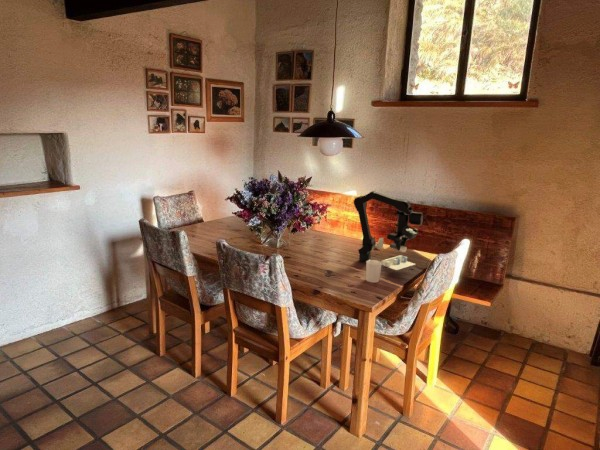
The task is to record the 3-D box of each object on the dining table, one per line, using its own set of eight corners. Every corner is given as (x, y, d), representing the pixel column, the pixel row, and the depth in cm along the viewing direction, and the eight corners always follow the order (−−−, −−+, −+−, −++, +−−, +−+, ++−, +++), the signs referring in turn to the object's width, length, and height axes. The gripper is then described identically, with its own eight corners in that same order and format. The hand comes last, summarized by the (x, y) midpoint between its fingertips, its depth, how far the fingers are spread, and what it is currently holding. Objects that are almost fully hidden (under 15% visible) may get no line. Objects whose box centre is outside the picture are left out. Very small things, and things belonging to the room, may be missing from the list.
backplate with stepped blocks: (396, 271, 236) (397, 265, 235) (381, 266, 245) (381, 259, 244) (415, 265, 248) (416, 259, 247) (400, 260, 256) (401, 254, 255)
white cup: (378, 277, 227) (379, 259, 224) (381, 283, 219) (383, 264, 217) (363, 277, 226) (365, 259, 224) (366, 283, 219) (367, 264, 216)
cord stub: (403, 252, 236) (403, 247, 235) (389, 248, 243) (389, 243, 242) (406, 251, 237) (406, 246, 237) (392, 247, 244) (393, 242, 244)
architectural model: (374, 249, 279) (375, 238, 277) (378, 247, 284) (379, 236, 282) (379, 250, 277) (379, 239, 275) (383, 248, 282) (384, 237, 280)
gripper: (404, 228, 223) (401, 256, 227) (425, 223, 235) (422, 250, 238) (387, 223, 231) (385, 251, 235) (408, 219, 243) (406, 245, 247)
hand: (400, 249), depth 239 cm, fingers closed on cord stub, 3 cm apart
